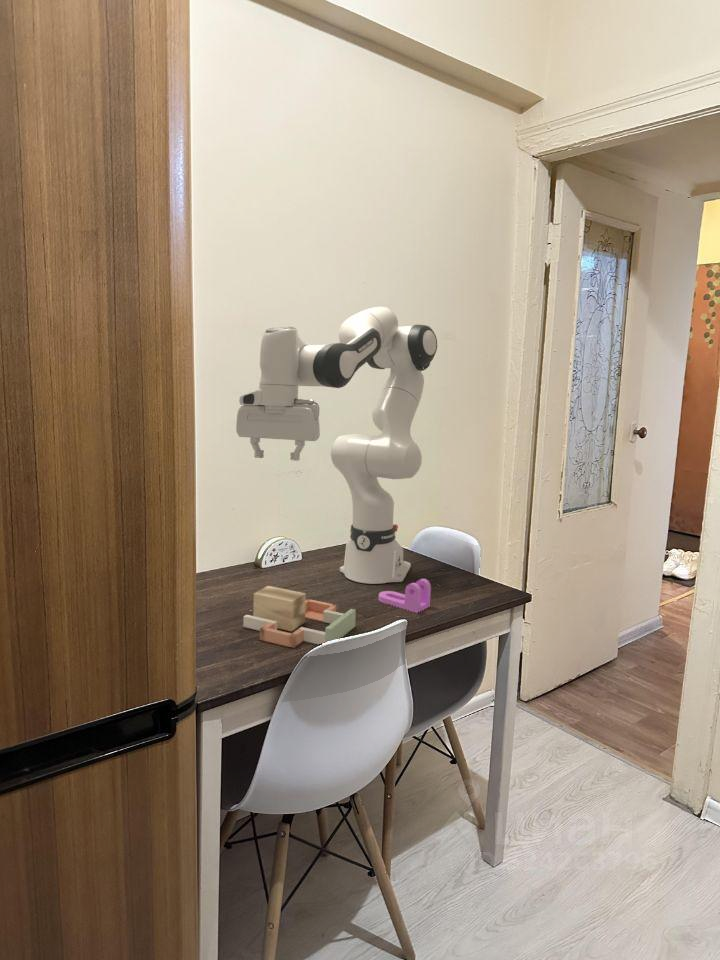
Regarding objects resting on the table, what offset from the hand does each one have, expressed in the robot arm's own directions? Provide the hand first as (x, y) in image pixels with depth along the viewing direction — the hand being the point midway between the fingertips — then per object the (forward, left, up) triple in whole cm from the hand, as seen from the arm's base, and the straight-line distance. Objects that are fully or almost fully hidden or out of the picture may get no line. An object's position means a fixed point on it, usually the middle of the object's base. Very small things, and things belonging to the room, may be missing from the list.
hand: (276, 459), depth 156 cm
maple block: (+7, +5, -36) cm, 37 cm away
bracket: (-18, +25, -36) cm, 48 cm away
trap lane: (+7, +10, -36) cm, 38 cm away
